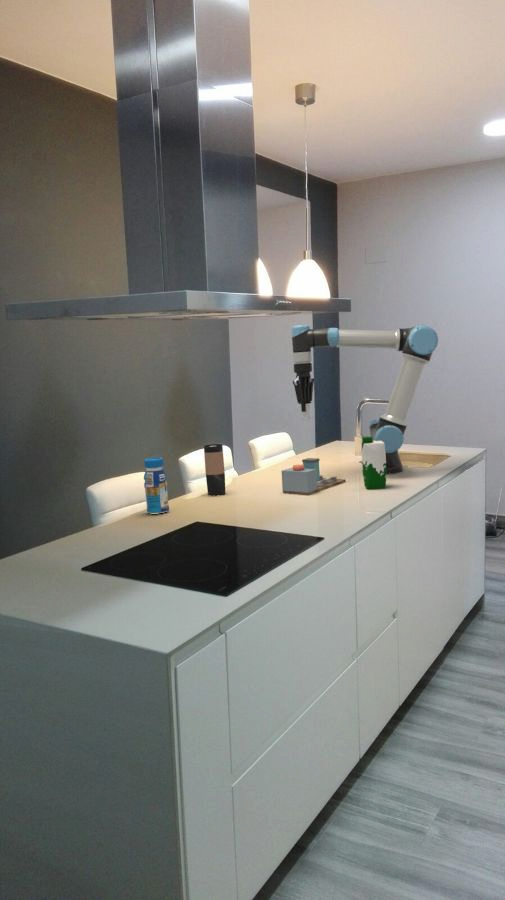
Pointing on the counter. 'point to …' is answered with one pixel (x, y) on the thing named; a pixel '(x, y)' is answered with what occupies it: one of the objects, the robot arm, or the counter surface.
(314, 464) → the carriage
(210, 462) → the travel mug
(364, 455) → the milk carton
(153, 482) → the beverage bottle
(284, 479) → the cabinet
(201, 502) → the counter surface
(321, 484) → the rail track
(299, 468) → the button
